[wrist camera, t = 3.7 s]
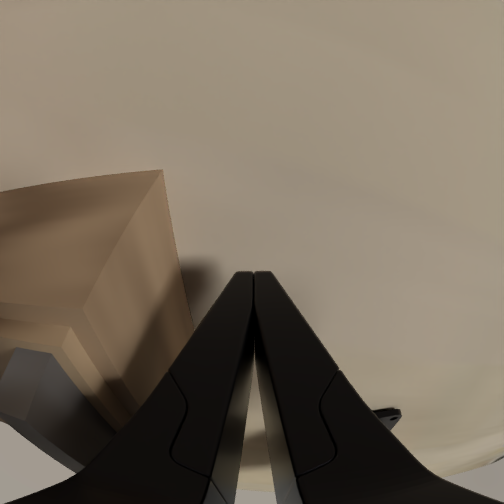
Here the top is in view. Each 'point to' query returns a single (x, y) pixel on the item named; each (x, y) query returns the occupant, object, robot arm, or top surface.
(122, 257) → the block
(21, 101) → the top surface
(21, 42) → the top surface
